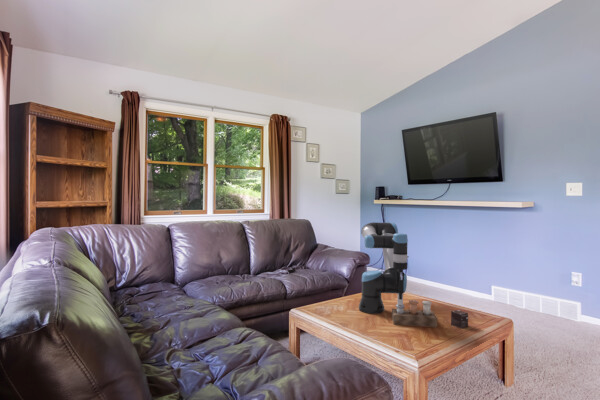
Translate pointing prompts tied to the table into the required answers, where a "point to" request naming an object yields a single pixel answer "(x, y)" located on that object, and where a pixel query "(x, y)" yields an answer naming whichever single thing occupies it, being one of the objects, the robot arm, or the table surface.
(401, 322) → the socket block
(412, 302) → the terracotta plug
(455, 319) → the box
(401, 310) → the grey plug
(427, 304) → the cream plug
